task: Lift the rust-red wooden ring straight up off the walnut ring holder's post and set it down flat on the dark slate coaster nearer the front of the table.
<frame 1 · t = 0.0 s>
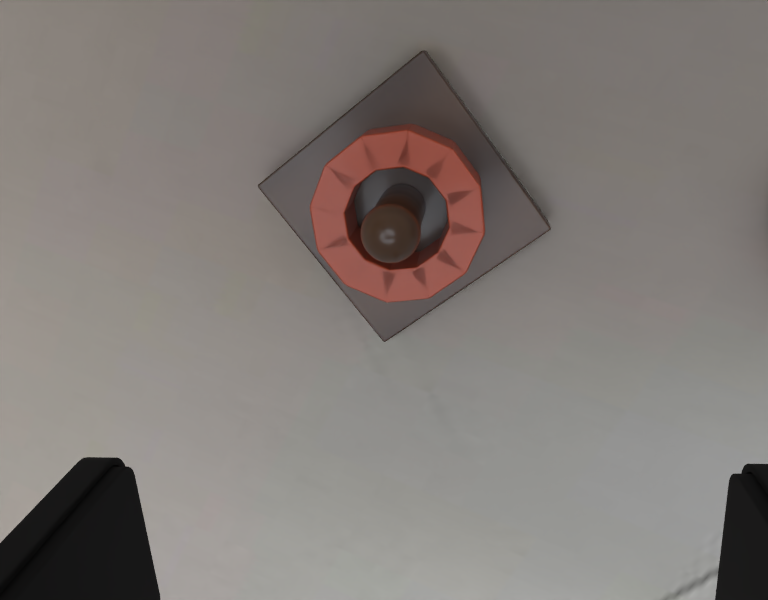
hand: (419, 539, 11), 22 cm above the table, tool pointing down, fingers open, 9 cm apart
ring: (402, 207, 30), point 1 cm above the table, touching ring holder
ring holder: (405, 200, 31), on the table
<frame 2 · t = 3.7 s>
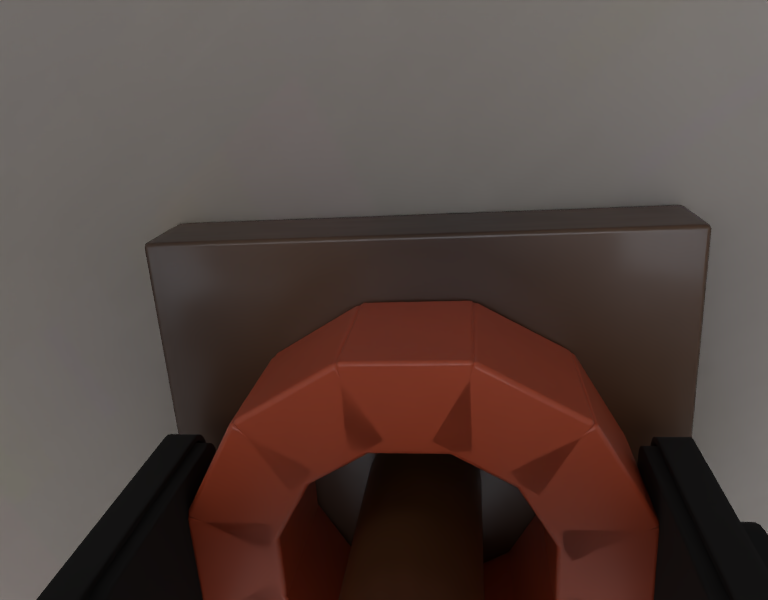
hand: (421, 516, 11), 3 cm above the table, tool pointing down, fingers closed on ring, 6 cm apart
ring: (425, 479, 12), point 1 cm above the table, touching gripper, ring holder
ring holder: (429, 436, 14), on the table
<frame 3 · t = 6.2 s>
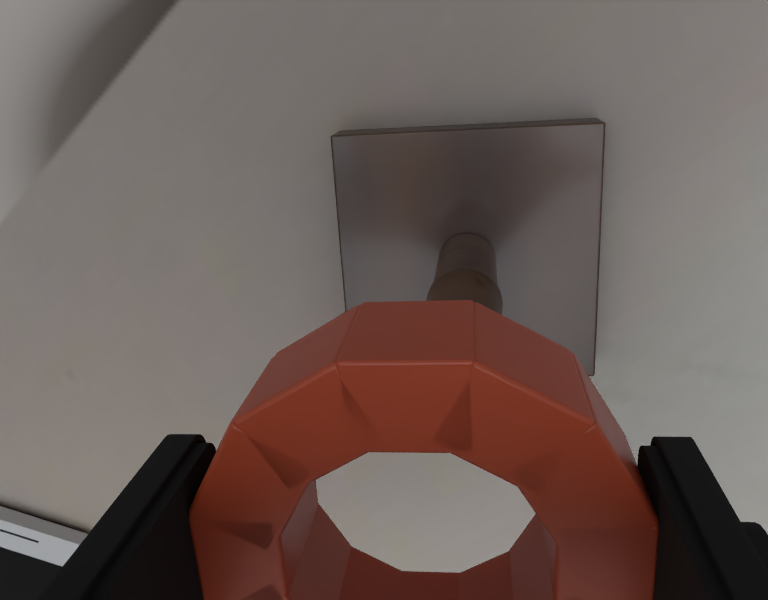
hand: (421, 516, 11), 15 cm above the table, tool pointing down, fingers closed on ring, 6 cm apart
ring: (425, 478, 12), point 14 cm above the table, touching gripper
ring holder: (467, 249, 26), on the table
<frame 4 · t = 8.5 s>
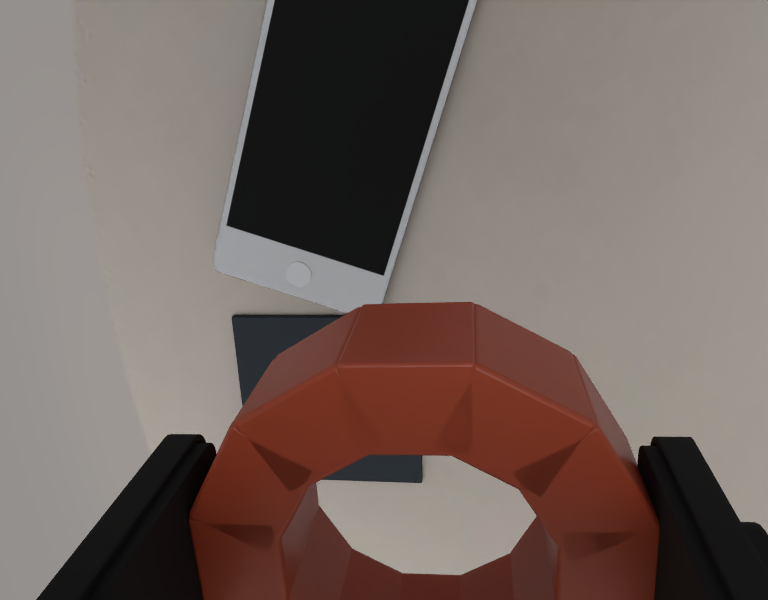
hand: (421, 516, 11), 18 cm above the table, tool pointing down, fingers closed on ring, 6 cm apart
coaster: (330, 399, 31), on the table
smartphone: (346, 107, 27), on the table
ring: (426, 481, 12), point 17 cm above the table, touching gripper
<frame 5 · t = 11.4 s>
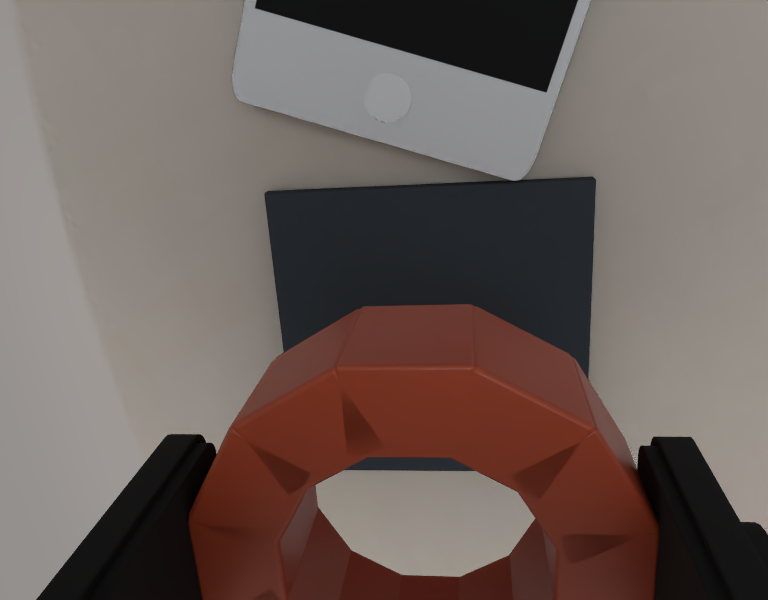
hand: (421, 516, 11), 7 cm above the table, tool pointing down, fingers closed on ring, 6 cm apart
coaster: (432, 334, 18), on the table
ring: (425, 482, 12), point 6 cm above the table, touching gripper
when the fingers open (1 cm above the table, at t = 13.4 s): ring stays where it is, resting on coaster.
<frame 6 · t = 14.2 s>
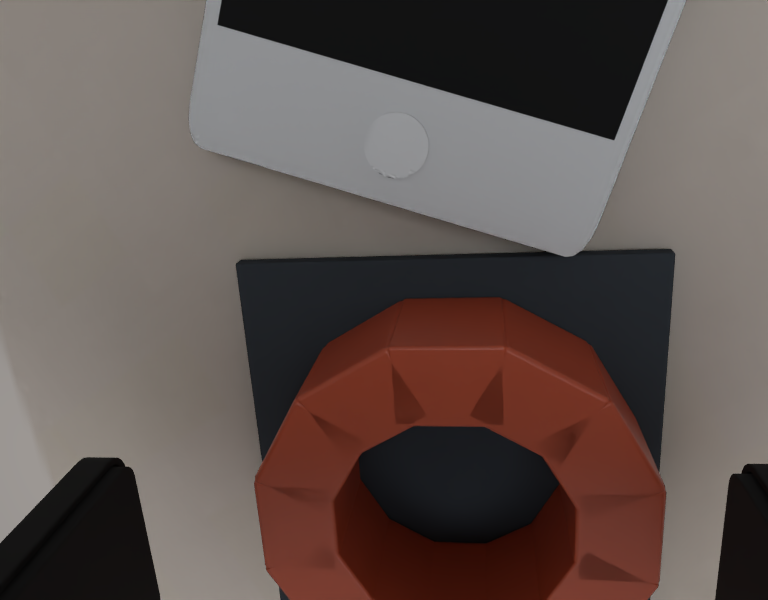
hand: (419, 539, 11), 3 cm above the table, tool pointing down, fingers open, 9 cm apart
coaster: (452, 443, 14), on the table
ring: (457, 457, 14), resting on coaster
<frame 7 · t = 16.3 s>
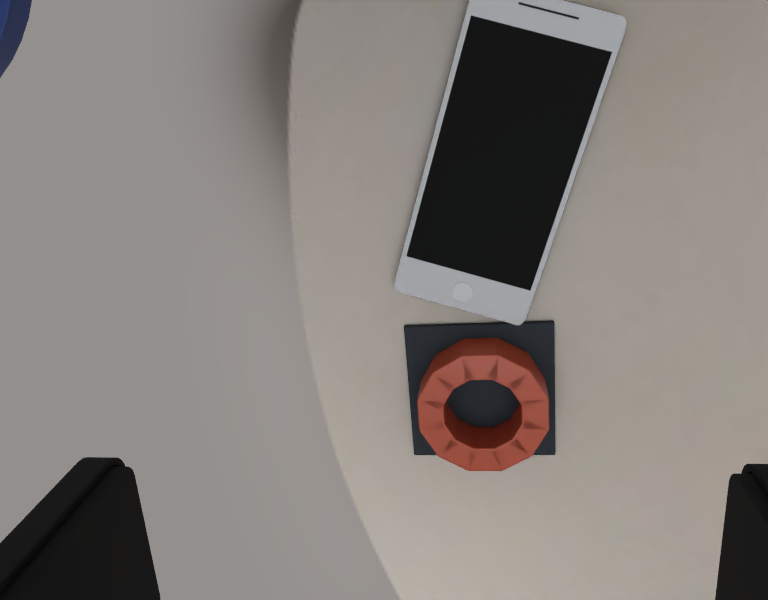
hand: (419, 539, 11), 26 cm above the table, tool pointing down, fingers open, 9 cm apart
coaster: (480, 389, 39), on the table
smartphone: (500, 162, 35), on the table
ring: (482, 394, 39), resting on coaster
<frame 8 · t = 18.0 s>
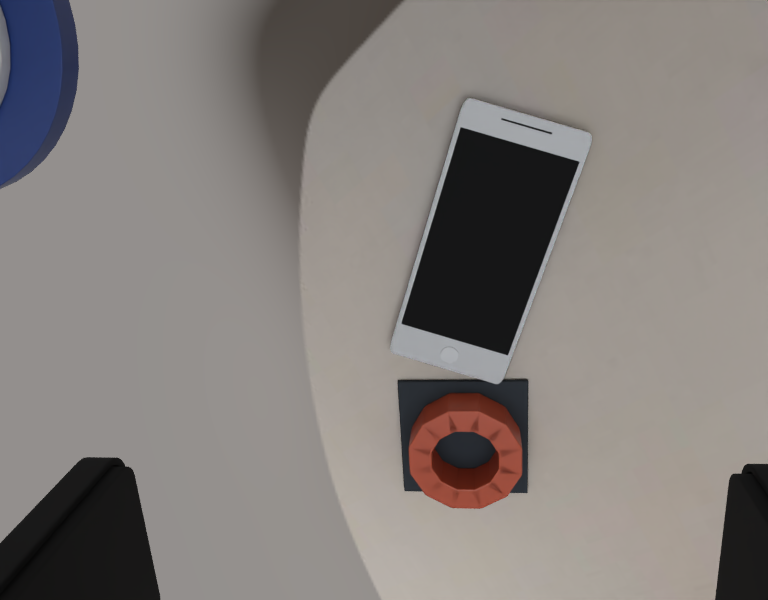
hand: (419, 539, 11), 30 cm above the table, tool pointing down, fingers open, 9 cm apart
coaster: (463, 436, 44), on the table
smartphone: (483, 246, 40), on the table
ring: (465, 440, 44), resting on coaster
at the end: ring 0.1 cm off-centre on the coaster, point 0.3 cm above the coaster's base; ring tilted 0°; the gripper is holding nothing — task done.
